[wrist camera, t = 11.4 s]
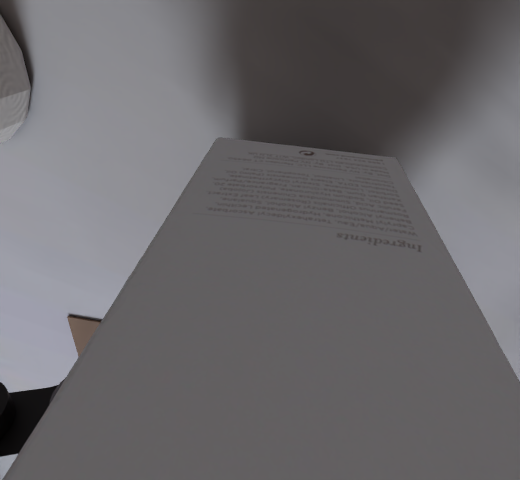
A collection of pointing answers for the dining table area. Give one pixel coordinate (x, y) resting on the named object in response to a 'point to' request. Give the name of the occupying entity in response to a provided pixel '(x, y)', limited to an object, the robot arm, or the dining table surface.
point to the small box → (287, 340)
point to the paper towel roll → (12, 84)
